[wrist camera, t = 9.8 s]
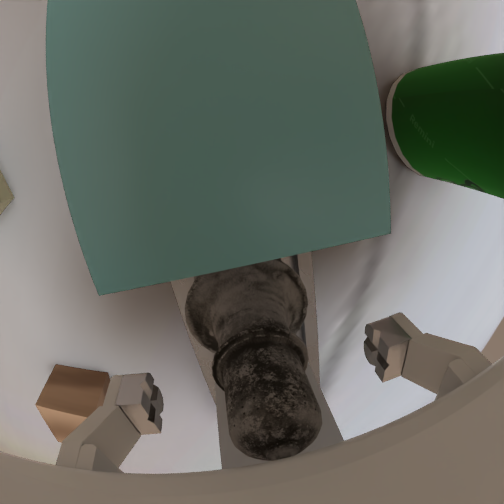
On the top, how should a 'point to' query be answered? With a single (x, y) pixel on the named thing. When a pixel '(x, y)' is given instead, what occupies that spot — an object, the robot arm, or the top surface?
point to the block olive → (4, 194)
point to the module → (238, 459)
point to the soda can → (452, 122)
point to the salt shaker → (258, 355)
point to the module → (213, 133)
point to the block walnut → (71, 398)
